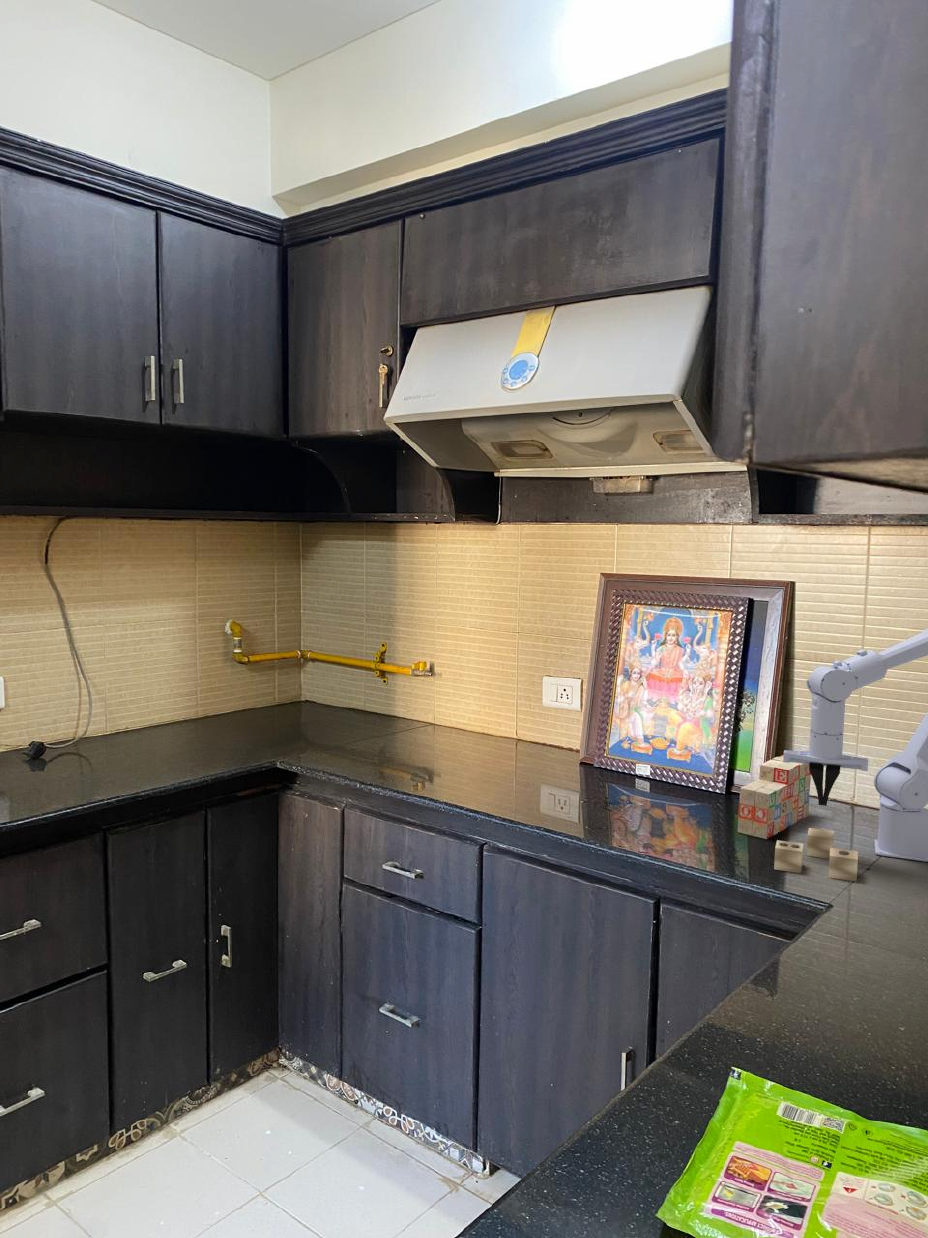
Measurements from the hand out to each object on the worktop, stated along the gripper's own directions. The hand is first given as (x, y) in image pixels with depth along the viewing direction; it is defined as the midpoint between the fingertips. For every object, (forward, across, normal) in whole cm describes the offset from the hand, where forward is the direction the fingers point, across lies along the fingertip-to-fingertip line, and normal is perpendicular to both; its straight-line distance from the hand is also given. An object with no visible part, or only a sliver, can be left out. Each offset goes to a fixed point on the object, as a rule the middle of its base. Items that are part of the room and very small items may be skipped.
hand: (822, 804), depth 172 cm
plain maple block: (+10, 0, 0) cm, 10 cm away
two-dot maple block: (+10, +5, +10) cm, 15 cm away
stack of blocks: (+10, +9, -15) cm, 20 cm away
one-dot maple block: (+10, -4, +10) cm, 14 cm away
